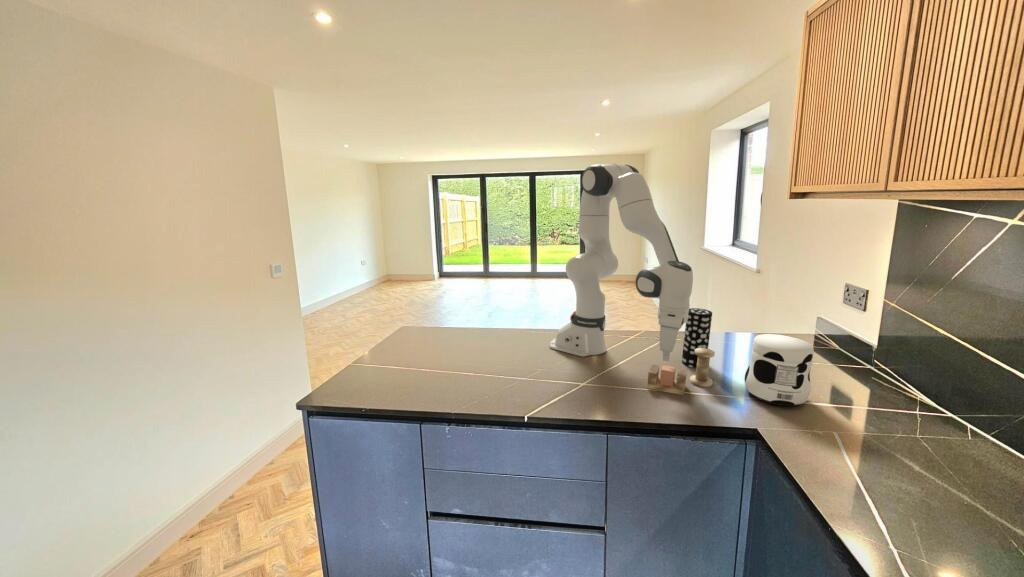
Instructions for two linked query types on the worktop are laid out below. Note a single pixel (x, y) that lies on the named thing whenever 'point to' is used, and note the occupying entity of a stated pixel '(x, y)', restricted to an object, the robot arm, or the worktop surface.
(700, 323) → the white-spotted black cylinder
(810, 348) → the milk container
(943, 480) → the worktop surface
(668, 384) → the orange block
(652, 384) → the notched board
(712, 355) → the bobbin
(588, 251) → the robot arm
